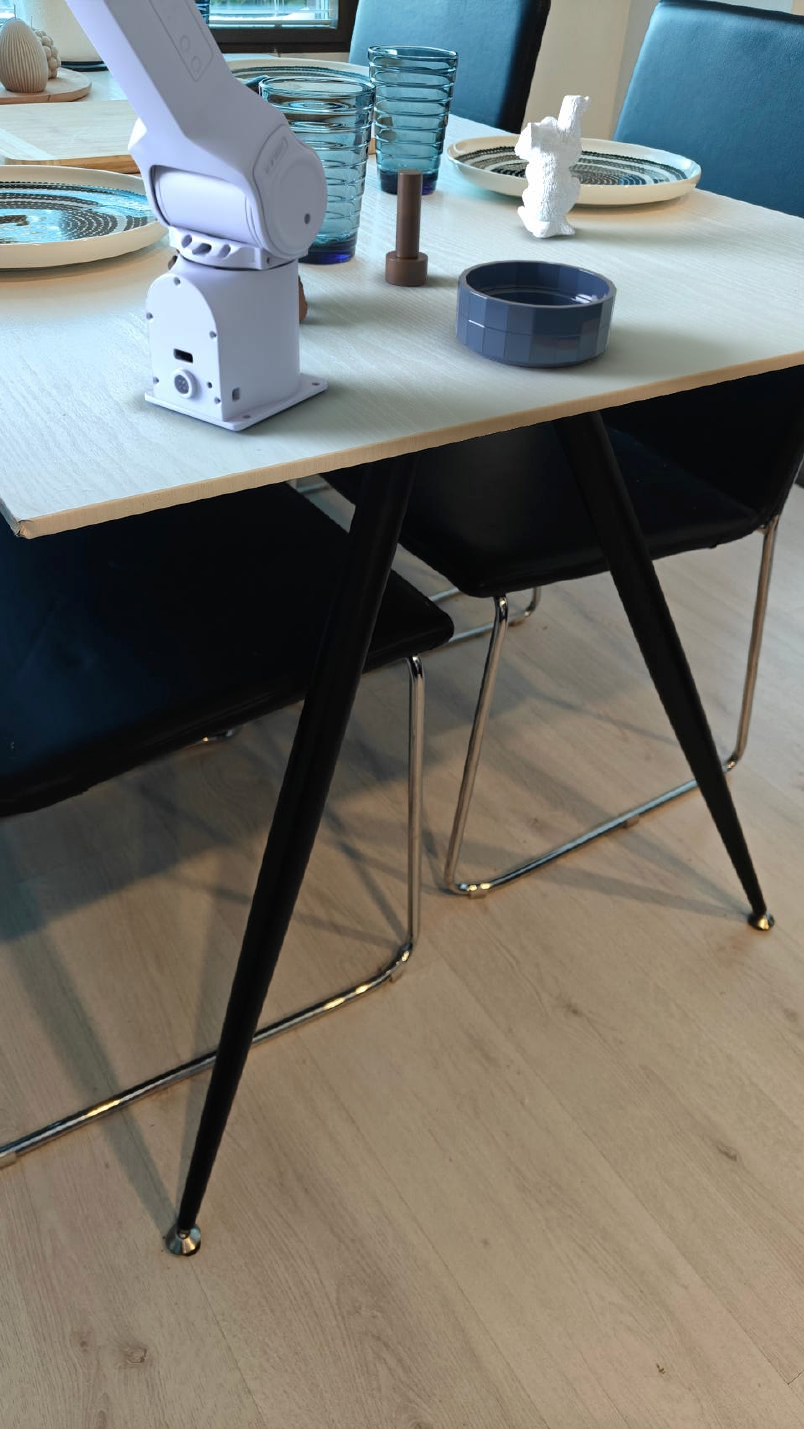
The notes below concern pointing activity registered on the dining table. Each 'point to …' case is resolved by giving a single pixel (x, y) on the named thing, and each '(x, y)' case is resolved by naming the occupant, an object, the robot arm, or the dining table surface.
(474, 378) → the dining table surface
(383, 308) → the dining table surface
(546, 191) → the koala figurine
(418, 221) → the muddler
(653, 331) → the dining table surface
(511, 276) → the bowl
